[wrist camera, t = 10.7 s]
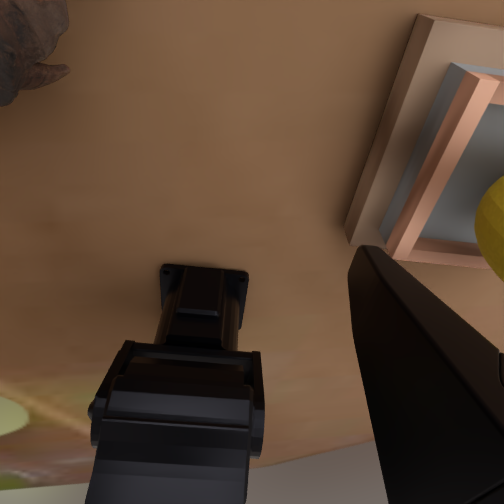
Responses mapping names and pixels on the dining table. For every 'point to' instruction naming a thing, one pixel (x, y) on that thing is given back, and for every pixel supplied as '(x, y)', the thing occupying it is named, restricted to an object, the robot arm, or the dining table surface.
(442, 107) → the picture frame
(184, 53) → the dining table surface
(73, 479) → the dining table surface
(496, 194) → the lemon
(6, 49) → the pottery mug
